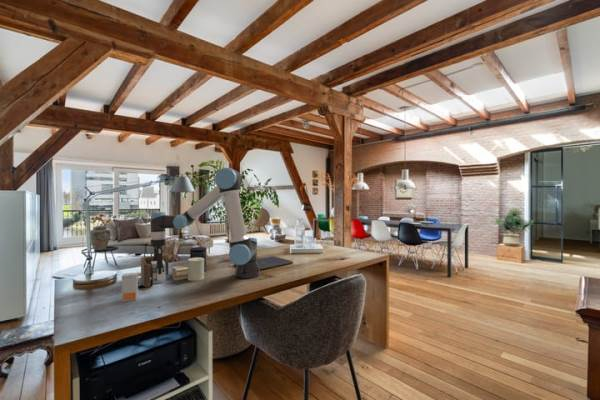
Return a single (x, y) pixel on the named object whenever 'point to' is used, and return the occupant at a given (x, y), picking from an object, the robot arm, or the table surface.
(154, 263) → the light bulb box
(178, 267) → the birch offcut
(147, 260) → the walnut rack
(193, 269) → the can
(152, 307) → the table surface
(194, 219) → the robot arm
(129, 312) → the table surface
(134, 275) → the skincare box
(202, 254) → the storage jar
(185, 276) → the oak offcut
